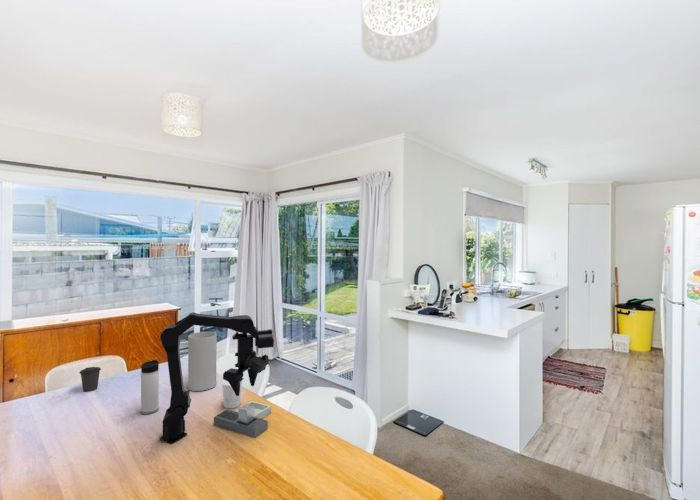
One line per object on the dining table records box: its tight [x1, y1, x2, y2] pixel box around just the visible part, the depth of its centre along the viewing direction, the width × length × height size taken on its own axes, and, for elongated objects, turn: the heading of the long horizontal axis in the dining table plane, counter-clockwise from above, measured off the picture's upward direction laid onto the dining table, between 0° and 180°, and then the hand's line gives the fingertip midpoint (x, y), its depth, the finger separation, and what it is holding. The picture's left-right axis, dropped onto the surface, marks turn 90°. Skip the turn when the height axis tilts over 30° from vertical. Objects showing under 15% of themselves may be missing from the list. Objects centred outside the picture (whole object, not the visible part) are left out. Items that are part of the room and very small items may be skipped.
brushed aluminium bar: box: [238, 403, 255, 426], centre depth 128 cm, size 4×4×8 cm
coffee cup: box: [78, 366, 102, 393], centre depth 162 cm, size 8×8×10 cm
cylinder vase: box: [187, 331, 218, 392], centre depth 166 cm, size 12×12×25 cm
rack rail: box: [213, 408, 269, 439], centre depth 129 cm, size 7×20×3 cm, turn 64°
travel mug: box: [140, 359, 160, 415], centre depth 141 cm, size 6×7×20 cm
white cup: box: [222, 380, 243, 409], centre depth 147 cm, size 8×8×10 cm
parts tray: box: [235, 400, 272, 419], centre depth 138 cm, size 10×10×3 cm
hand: (245, 390), depth 130 cm, fingers open, 9 cm apart
